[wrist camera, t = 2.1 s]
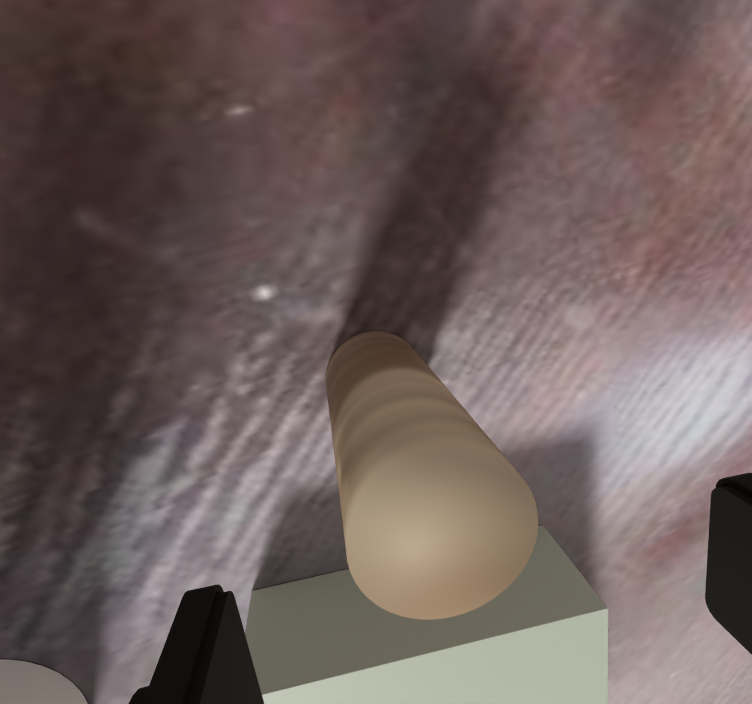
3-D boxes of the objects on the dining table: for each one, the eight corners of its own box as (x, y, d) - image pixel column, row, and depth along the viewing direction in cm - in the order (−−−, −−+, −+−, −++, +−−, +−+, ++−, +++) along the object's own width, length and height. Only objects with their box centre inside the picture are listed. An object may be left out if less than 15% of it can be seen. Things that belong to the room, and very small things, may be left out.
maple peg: (317, 340, 18) (329, 473, 8) (416, 322, 18) (534, 431, 9) (334, 431, 19) (362, 638, 10) (427, 413, 19) (541, 595, 10)
